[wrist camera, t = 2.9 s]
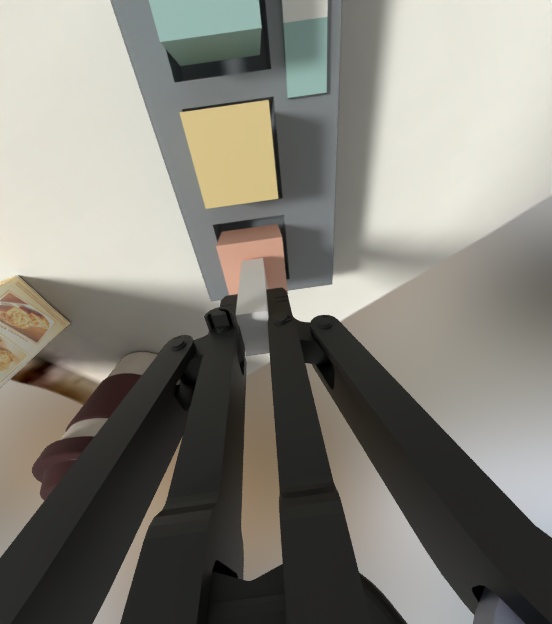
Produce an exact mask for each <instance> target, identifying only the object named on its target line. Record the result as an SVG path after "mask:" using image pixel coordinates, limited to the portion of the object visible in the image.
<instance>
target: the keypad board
mask: <svg viewBox="0 0 552 624" xmlns="http://www.w3.org/2000/svg"><path fill="white" fill-rule="evenodd" d="M110 1H111V4H112V7H113V10H114V13H115V16H116V19H117V22H118V25H119V28H120V31H121V34H122V37H123V40H124V43H125V46H126V49H127V52H128V55H129V58H130V61H131V64H132V67H133V70H134V73H135V76H136V79H137V82H138V85H139V88H140V91H141V94H142V96H143V99H144V102H145V105H146V108H147V111H148V114H149V117H150V120H151V123H152V126H153V129H154V132H155V135H156V138H157V141H158V144H159V147H160V150H161V153H162V156H163V159H164V162H165V165H166V168H167V171H168V174H169V177H170V180H171V183H172V186H173V189H174V192H175V195H176V198H177V201H178V204H179V207H180V210H181V213H182V216H183V219H184V222H185V225H186V228H187V231H188V234H189V237H190V240H191V243H192V246H193V249H194V252H195V255H196V258H197V261H198V264H199V267H200V270H201V273H202V276H203V279H204V282H205V285H206V288H207V291H208V294H209V297H210V300H211V301H217V300H222V299H223V298H224V297H225V296H228V295H229V292H228V289H227V285H226V281H225V278H224V274H223V270H222V267H221V263H220V259H219V256H218V252H217V248H216V245H217V242H218V240H219V237H220V235H221V232H223V231H231V230H238V229H245V228H252V227H259V226H266V225H273V224H278V226H279V229H280V232H281V235H282V241H283V251H284V261H285V272H286V282H287V291H288V290H295V289H302V288H309V287H316V286H323V285H330V284H332V275H333V245H334V216H335V186H336V157H337V127H338V98H339V68H340V39H341V9H342V0H259V7H260V17H261V27H262V29H261V44H260V55H256V56H249V57H242V58H235V59H228V60H221V61H213V62H206V63H199V64H192V65H185V66H180V65H179V64H178V63H177V61H176V60H175V59H174V58H173V57H172V56H171V54H170V53H169V52H168V51H167V50H166V48H165V47H164V46H163V45H162V44H161V43H160V40H159V36H158V33H157V29H156V25H155V22H154V18H153V14H152V11H151V7H150V3H149V0H110ZM264 100H269V109H270V119H271V129H272V139H273V149H274V160H275V170H276V180H277V190H278V199H273V200H266V201H259V202H252V203H245V204H237V205H230V206H223V207H216V208H209V209H206V208H205V204H204V201H203V197H202V194H201V190H200V186H199V183H198V179H197V175H196V172H195V168H194V164H193V161H192V157H191V153H190V150H189V146H188V142H187V139H186V135H185V131H184V128H183V124H182V120H181V117H180V113H179V112H186V111H193V110H200V109H207V108H215V107H222V106H229V105H236V104H243V103H250V102H257V101H264Z"/></svg>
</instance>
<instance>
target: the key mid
mask: <svg viewBox="0 0 552 624" xmlns="http://www.w3.org/2000/svg"><path fill="white" fill-rule="evenodd" d="M179 113H180V117H181V120H182V124H183V128H184V131H185V135H186V139H187V142H188V146H189V150H190V153H191V157H192V161H193V164H194V168H195V172H196V175H197V179H198V183H199V186H200V190H201V194H202V197H203V201H204V204H205V208H206V209H209V208H216V207H223V206H230V205H237V204H245V203H252V202H259V201H266V200H273V199H278V190H277V180H276V170H275V160H274V149H273V139H272V129H271V119H270V109H269V100H264V101H257V102H250V103H243V104H236V105H229V106H222V107H215V108H207V109H200V110H193V111H186V112H179Z"/></svg>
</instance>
